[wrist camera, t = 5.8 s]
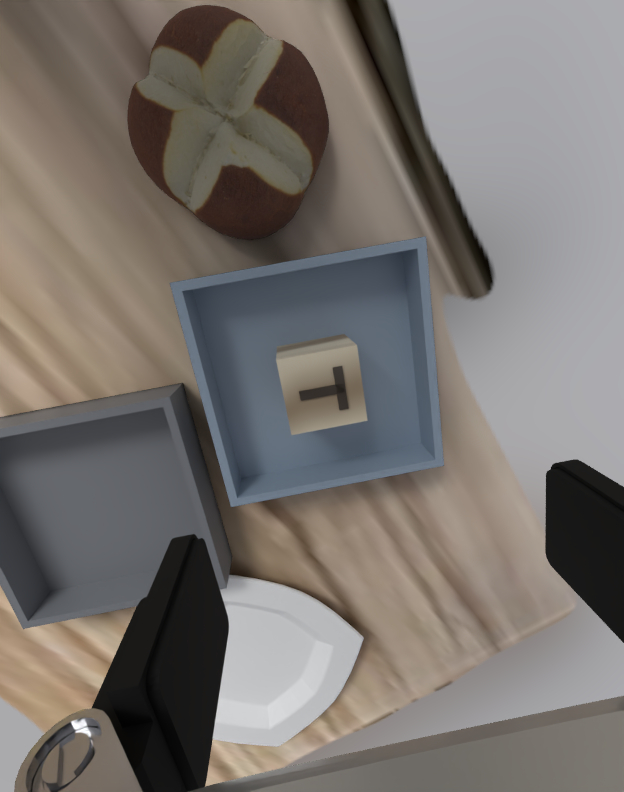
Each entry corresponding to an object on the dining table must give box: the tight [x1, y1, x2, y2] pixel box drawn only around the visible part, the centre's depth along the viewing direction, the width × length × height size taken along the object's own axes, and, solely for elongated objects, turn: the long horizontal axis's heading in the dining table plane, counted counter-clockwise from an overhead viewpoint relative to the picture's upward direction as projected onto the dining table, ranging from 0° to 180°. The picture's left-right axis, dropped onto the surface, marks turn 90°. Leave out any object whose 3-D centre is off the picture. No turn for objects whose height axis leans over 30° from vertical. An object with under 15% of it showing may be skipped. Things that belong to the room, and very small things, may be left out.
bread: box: [128, 5, 329, 239], centre depth 23 cm, size 11×11×5 cm
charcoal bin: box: [0, 383, 232, 629], centre depth 30 cm, size 16×16×4 cm
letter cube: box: [276, 334, 368, 435], centre depth 27 cm, size 5×5×5 cm
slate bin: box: [170, 237, 444, 507], centre depth 28 cm, size 16×16×4 cm
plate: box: [213, 575, 364, 747], centre depth 37 cm, size 19×19×2 cm
